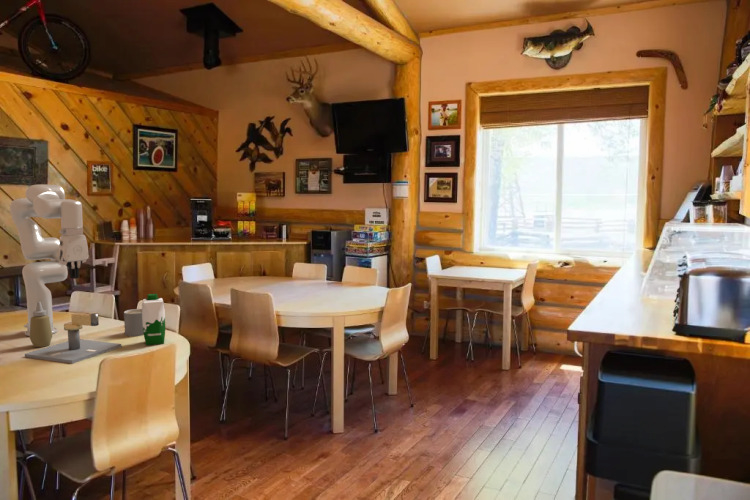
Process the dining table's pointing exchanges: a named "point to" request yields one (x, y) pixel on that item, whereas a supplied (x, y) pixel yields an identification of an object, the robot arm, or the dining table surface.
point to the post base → (72, 353)
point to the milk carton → (153, 319)
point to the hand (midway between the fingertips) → (74, 278)
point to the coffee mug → (133, 322)
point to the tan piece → (81, 321)
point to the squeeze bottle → (40, 328)
